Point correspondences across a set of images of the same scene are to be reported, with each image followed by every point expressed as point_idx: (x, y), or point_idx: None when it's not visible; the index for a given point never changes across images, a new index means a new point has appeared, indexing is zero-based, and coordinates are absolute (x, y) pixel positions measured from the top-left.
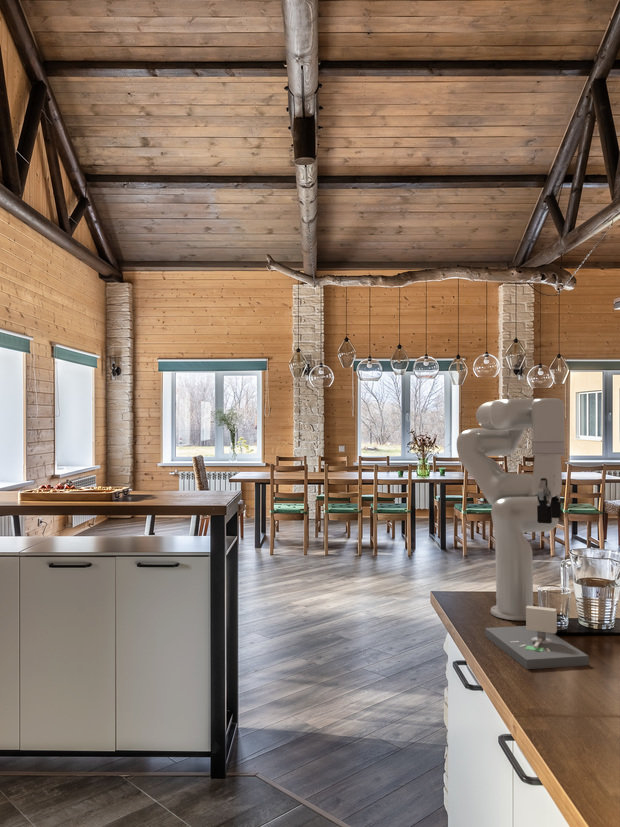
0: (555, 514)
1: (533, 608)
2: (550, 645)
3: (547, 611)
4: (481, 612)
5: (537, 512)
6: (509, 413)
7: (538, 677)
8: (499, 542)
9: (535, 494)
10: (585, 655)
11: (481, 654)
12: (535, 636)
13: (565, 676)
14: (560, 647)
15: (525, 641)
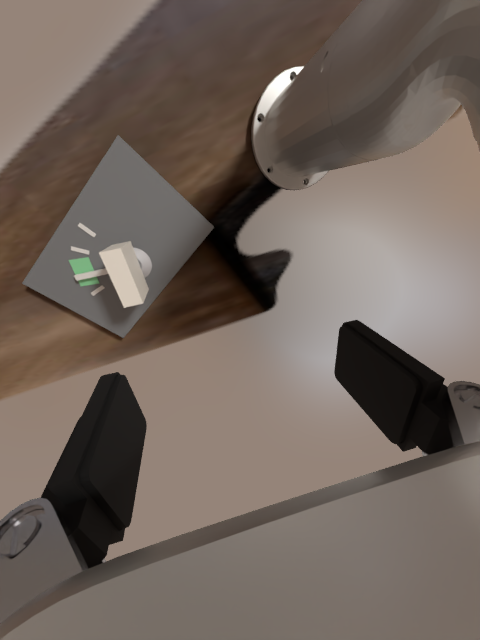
0: (346, 370)
1: (107, 268)
2: None
3: (118, 294)
4: (276, 46)
5: (78, 427)
6: None
7: (18, 304)
8: None
9: (146, 582)
10: (121, 335)
11: (18, 182)
12: (147, 247)
13: (59, 327)
14: None
15: (106, 244)
